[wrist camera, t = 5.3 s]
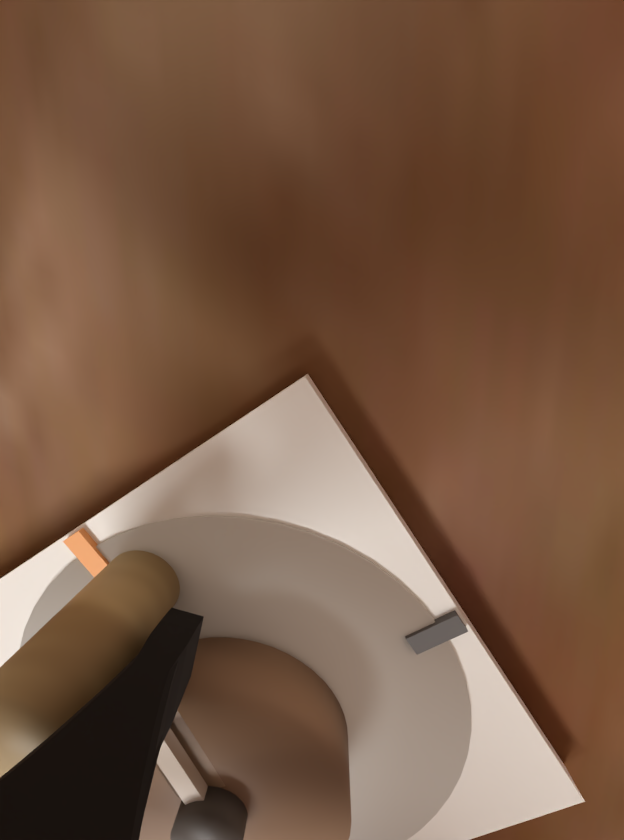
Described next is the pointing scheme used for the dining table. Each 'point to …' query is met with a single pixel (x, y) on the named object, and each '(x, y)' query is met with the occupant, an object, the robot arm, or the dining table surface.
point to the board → (325, 616)
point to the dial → (191, 716)
